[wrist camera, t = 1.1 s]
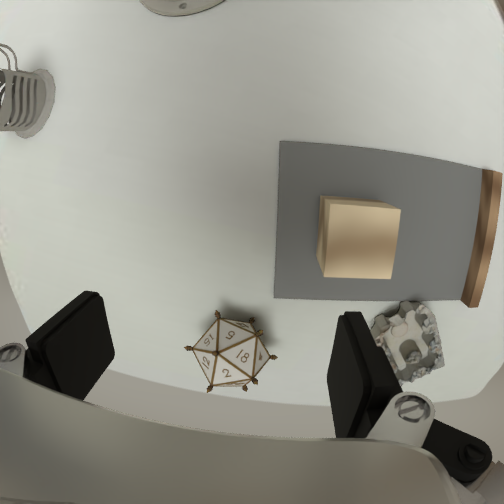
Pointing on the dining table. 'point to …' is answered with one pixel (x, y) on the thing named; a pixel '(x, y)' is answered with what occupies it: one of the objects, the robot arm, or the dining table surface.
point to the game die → (231, 353)
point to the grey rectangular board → (391, 192)
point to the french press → (25, 99)
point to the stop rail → (483, 237)
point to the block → (356, 237)
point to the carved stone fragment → (410, 341)
